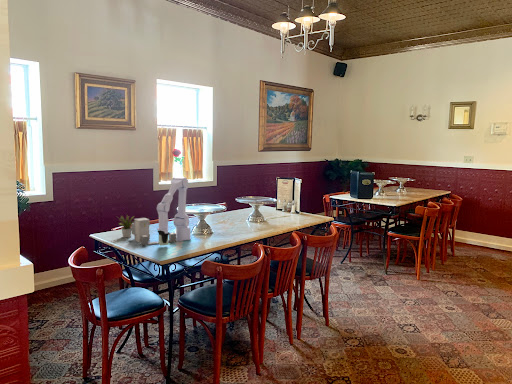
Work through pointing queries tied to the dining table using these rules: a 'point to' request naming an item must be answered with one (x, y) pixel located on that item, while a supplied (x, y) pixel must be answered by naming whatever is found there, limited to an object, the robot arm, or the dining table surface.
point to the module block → (161, 241)
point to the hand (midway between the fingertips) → (163, 242)
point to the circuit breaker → (140, 228)
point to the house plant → (126, 227)
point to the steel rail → (155, 243)
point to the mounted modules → (145, 238)
